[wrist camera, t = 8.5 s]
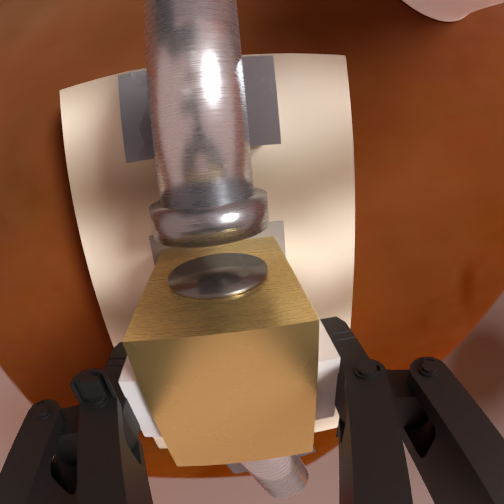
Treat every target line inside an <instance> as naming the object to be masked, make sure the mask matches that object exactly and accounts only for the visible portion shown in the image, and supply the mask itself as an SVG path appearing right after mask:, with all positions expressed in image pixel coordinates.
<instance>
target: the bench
mask: <svg viewBox="0 0 504 504" xmlns="http://www.w3.org/2000/svg"><path fill="white" fill-rule="evenodd" d="M264 55H273V59H274V69H275V79H276V89H277V100H278V111H279V122H280V134H281V144H273V145H260V146H250V150H251V162H252V173H253V184H254V188H260V189H263V190H265V191H266V192H267V199H268V212H269V226H268V228H267V229H265V230H264V231H263V232H261V233H259V234H257V235H255V236H253V237H250V238H247V239H253V238H261V237H270V236H274V237H275V239H276V241H277V243H278V245H279V246H280V248H281V250H282V252H283V254H284V255H285V257H286V259H287V261H288V263H289V264H290V266H291V268H292V270H293V271H294V273H295V275H296V277H297V278H298V280H299V282H300V284H301V286H302V287H303V289H304V291H305V293H306V295H307V297H308V298H309V300H310V302H311V304H312V306H313V308H314V309H315V311H316V313H317V315H318V317H319V319H324V318H330V317H336V316H337V317H338V318H340V319H341V320H343V321H345V322H346V323H347V325H348V326H349V328H350V323H351V310H352V295H353V276H354V248H355V177H354V150H353V132H352V117H351V104H350V93H349V82H348V73H347V64H346V56H345V55H330V54H298V53H284V54H252V55H242V57H244V56H264ZM145 69H146V68H142V69H137V70H132V71H128V72H124V73H119V74H115V75H111V76H107V77H103V78H100V79H96V80H92V81H89V82H85V83H82V84H79V85H75V86H72V87H69V88H66V89H63V90H60V105H61V118H62V129H63V139H64V147H65V155H66V162H67V169H68V176H69V182H70V188H71V194H72V199H73V204H74V210H75V214H76V219H77V224H78V229H79V233H80V237H81V242H82V246H83V250H84V254H85V258H86V261H87V265H88V269H89V273H90V276H91V280H92V283H93V287H94V290H95V293H96V297H97V300H98V303H99V306H100V309H101V312H102V315H103V318H104V321H105V324H106V327H107V330H108V333H109V336H110V338H111V341H112V344H113V347H115V346H116V345H117V344H118V343H119V342H123V339H124V337H125V334H126V332H127V329H128V327H129V325H130V322H131V320H132V317H133V315H134V312H135V310H136V308H137V305H138V303H139V301H140V298H141V296H142V294H143V291H144V289H145V287H146V285H147V282H148V280H149V278H150V276H151V273H152V271H153V269H154V267H155V265H156V262H157V260H158V258H159V256H160V254H161V252H162V250H163V249H170V248H177V247H169V246H164V245H161V244H159V243H157V242H156V241H155V239H154V234H153V229H152V223H151V217H150V211H149V206H150V205H151V204H153V203H154V202H156V201H159V200H160V193H159V186H158V179H157V172H156V164H155V158H154V159H148V160H142V161H136V162H131V163H126V158H125V150H124V142H123V133H122V124H121V113H120V102H119V89H118V75H122V74H126V73H130V72H135V71H140V70H145ZM338 422H339V414H338V411H337V409H336V407H335V413H334V416H333V417H328V418H324V419H319V420H315V428H314V432H319V431H323V430H328V429H332V428H337V427H338ZM154 439H155V441H156V443H157V445H158V447H159V448H167V446H166V444H165V442H164V440H163V438H162V437H154Z"/></svg>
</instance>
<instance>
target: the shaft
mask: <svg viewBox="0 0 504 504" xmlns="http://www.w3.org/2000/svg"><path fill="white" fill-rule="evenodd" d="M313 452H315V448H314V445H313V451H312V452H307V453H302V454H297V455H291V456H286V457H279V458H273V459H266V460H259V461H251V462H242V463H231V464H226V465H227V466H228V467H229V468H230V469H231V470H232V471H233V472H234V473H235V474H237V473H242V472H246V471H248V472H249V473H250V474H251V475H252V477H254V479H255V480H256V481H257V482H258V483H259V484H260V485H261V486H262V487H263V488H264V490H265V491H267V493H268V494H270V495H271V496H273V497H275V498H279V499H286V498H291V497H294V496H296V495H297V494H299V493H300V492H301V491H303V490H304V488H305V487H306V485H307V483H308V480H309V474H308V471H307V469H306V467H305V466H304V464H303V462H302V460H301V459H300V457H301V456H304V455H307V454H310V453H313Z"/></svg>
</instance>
